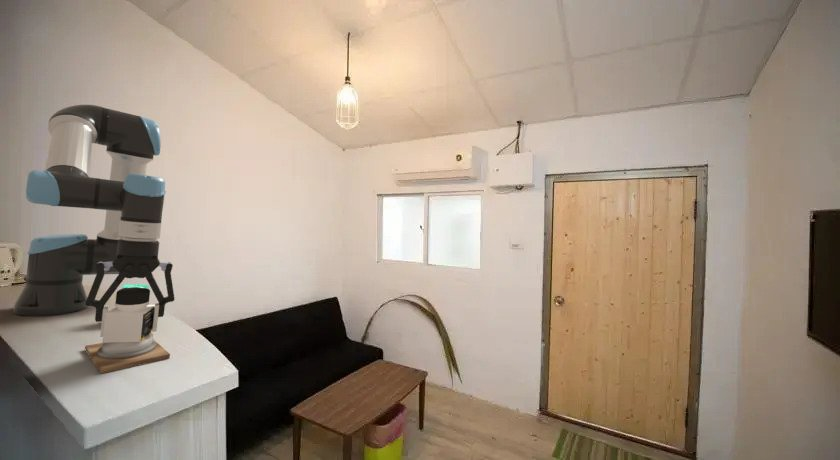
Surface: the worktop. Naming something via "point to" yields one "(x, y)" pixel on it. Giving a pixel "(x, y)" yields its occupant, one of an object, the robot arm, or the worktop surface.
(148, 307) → the medicine bottle
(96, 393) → the worktop surface
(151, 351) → the stub board
